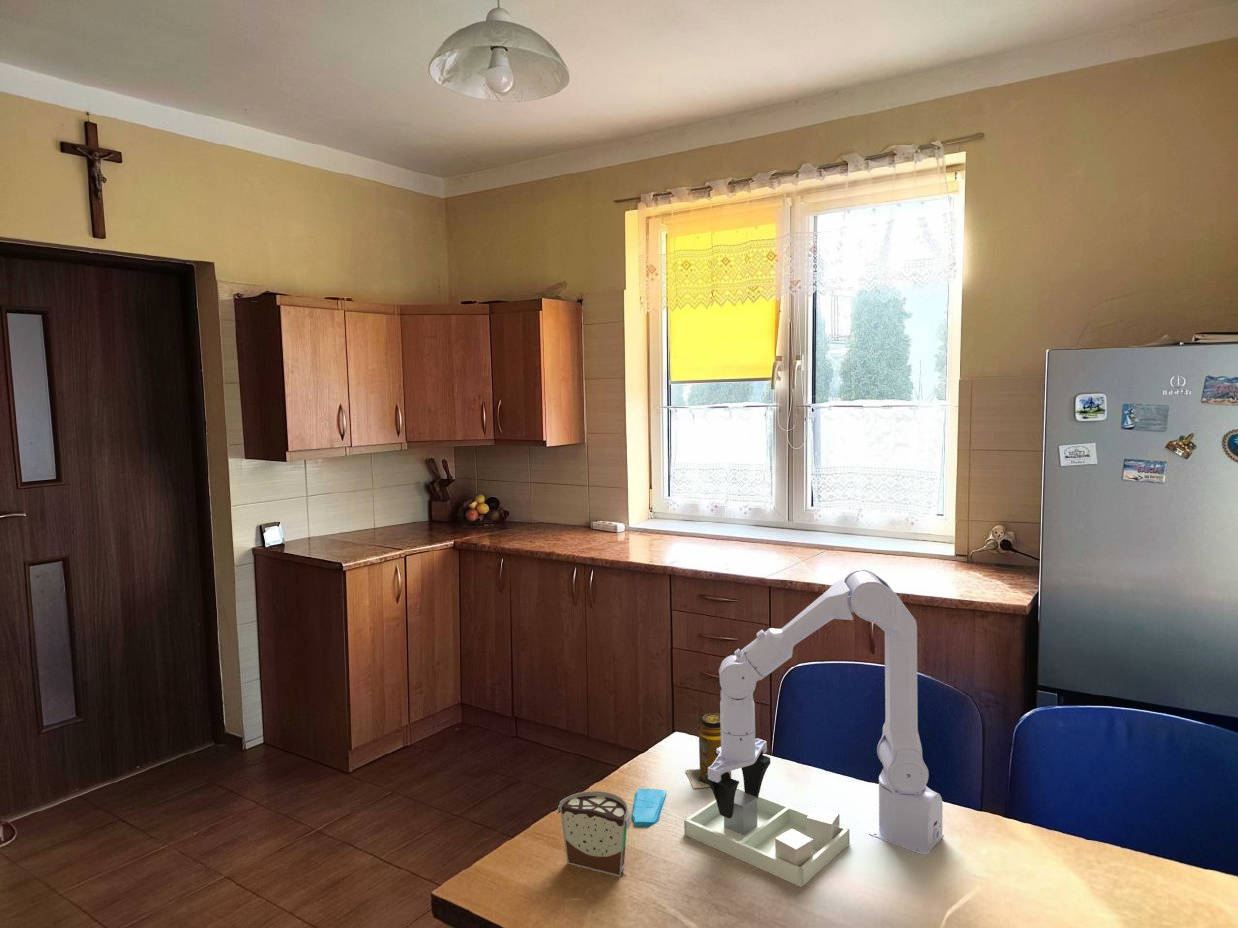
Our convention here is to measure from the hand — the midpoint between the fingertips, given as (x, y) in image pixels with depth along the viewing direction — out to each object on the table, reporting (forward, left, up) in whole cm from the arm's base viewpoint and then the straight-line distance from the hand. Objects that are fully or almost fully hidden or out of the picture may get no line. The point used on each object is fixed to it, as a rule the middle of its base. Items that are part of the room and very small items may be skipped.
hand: (739, 806), depth 134 cm
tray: (-6, +1, -4) cm, 7 cm away
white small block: (-14, -4, -3) cm, 14 cm away
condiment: (+14, -11, -4) cm, 19 cm away
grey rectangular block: (0, 0, -3) cm, 3 cm away
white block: (-14, +5, -3) cm, 15 cm away
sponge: (+16, +5, -4) cm, 18 cm away
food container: (+12, +22, -4) cm, 25 cm away
